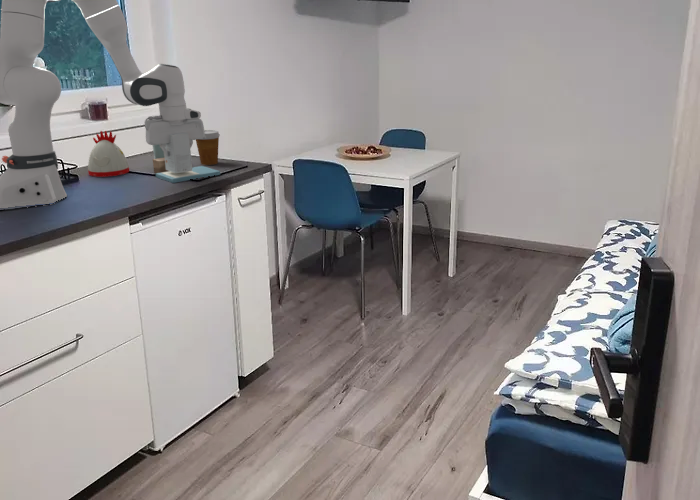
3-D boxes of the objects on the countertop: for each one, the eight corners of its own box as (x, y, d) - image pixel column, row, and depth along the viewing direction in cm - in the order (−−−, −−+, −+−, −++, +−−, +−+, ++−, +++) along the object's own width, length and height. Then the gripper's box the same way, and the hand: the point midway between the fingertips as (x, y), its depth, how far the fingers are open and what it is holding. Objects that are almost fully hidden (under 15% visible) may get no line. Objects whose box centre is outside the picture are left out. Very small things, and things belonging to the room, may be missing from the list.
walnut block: (160, 175, 224) (158, 161, 223) (154, 173, 228) (152, 159, 226) (173, 173, 227) (171, 159, 226) (167, 170, 231) (165, 157, 229)
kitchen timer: (121, 176, 223) (115, 133, 218) (82, 177, 223) (75, 134, 218) (134, 168, 236) (129, 127, 231) (98, 168, 237) (91, 128, 232)
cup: (157, 164, 242) (153, 138, 239) (177, 163, 243) (175, 137, 240) (153, 168, 235) (150, 141, 232) (174, 167, 236) (171, 140, 233)
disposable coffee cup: (195, 166, 237) (192, 134, 233) (197, 161, 246) (194, 130, 242) (221, 165, 238) (218, 133, 234) (222, 160, 247) (219, 129, 243)
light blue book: (172, 182, 212) (172, 178, 211) (156, 176, 221) (155, 172, 221) (220, 174, 223) (220, 170, 222) (202, 169, 232) (202, 165, 232)
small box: (192, 171, 218) (189, 133, 214) (175, 173, 215) (171, 135, 210) (182, 167, 224) (178, 130, 220) (165, 170, 220) (161, 132, 216)
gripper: (148, 117, 204) (152, 160, 209) (204, 112, 217) (208, 152, 222) (139, 116, 209) (144, 157, 214) (196, 110, 222) (199, 150, 226)
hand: (177, 155), depth 218 cm, fingers closed on small box, 6 cm apart
